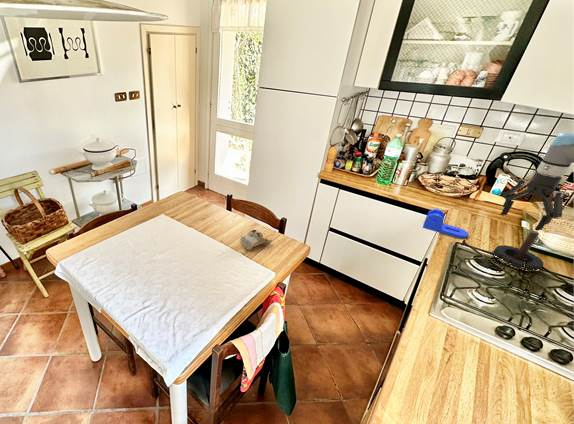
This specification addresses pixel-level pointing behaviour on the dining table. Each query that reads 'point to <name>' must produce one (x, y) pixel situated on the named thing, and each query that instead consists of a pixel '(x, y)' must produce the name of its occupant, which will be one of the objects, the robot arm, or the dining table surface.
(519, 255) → the peg stand
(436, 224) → the bracket
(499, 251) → the tape roll
